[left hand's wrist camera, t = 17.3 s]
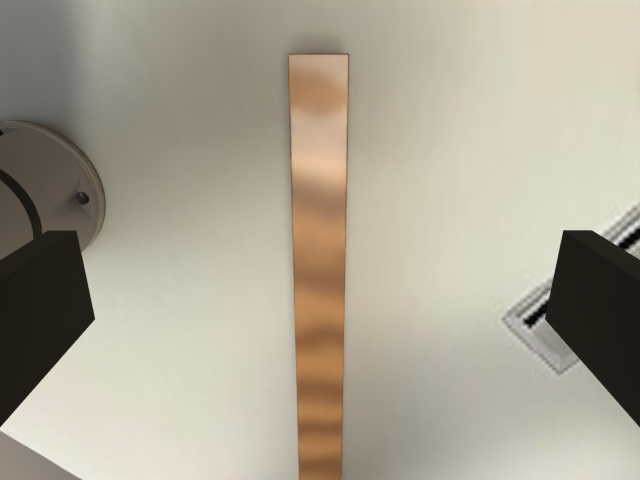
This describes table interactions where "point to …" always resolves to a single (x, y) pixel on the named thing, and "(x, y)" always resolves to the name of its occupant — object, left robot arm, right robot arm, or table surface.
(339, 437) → the post
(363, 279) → the table surface
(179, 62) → the table surface
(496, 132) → the table surface
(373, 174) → the table surface
